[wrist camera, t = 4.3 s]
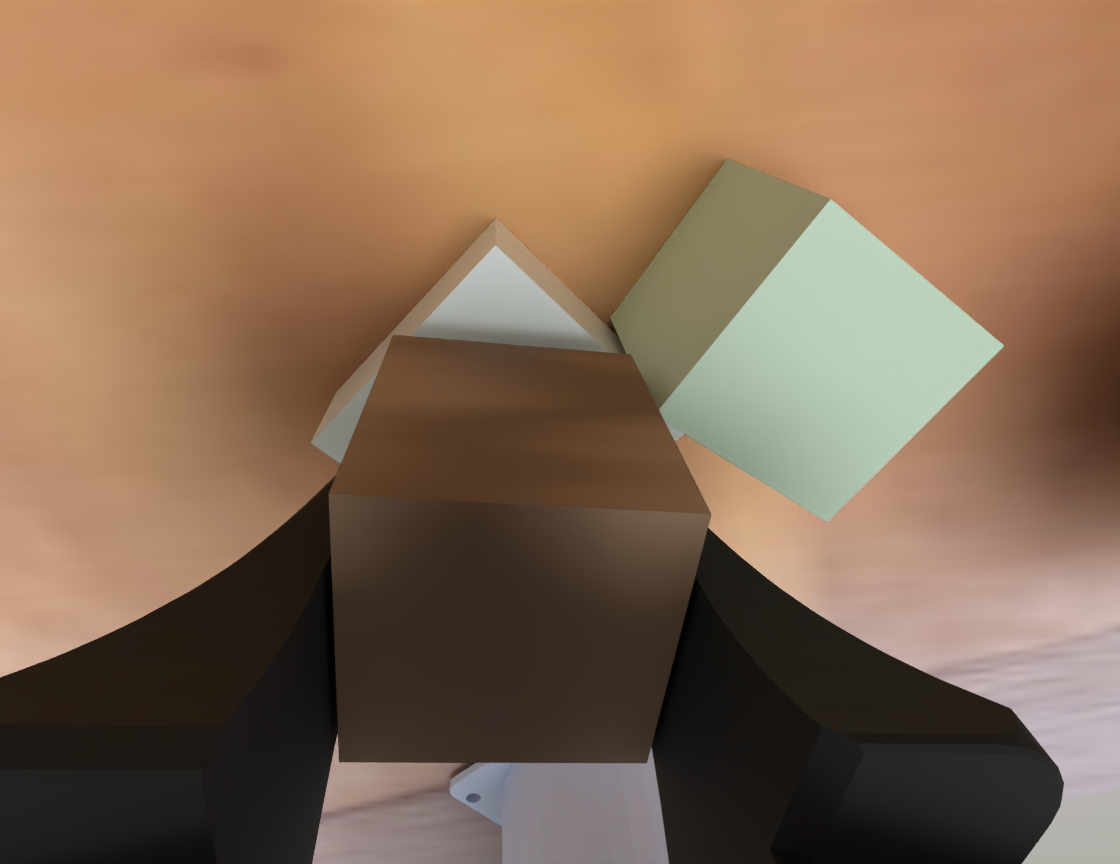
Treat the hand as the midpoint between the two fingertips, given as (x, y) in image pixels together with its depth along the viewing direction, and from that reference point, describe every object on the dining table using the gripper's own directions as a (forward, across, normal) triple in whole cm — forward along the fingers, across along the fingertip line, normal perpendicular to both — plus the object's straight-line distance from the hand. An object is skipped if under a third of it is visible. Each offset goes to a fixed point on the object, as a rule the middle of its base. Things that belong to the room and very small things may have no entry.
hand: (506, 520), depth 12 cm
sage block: (+6, -6, -3) cm, 9 cm away
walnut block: (+2, 0, 0) cm, 2 cm away
